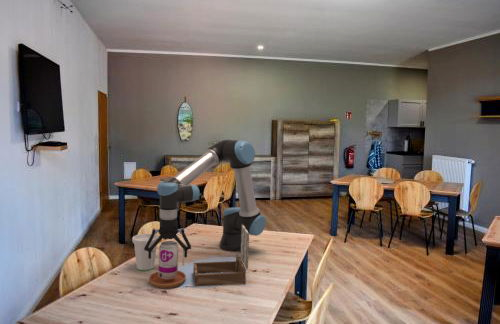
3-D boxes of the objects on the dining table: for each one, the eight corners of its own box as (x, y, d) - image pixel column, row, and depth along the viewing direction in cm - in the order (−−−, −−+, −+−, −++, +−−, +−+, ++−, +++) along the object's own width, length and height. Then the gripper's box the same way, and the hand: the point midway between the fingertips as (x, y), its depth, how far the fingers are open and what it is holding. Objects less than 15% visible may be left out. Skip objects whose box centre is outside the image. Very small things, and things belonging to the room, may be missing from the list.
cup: (163, 266, 186) (164, 236, 184) (147, 274, 174) (147, 242, 173) (144, 261, 191) (144, 232, 190) (126, 269, 180) (126, 238, 178)
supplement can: (172, 281, 162) (174, 247, 161) (155, 278, 164) (156, 245, 162) (179, 273, 170) (181, 241, 169) (162, 271, 172) (164, 239, 170)
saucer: (166, 294, 156) (167, 287, 156) (141, 284, 165) (141, 277, 165) (193, 281, 169) (193, 275, 169) (168, 273, 178) (168, 267, 178)
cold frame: (193, 272, 178) (194, 225, 176) (241, 270, 183) (243, 224, 181) (194, 286, 163) (195, 234, 161) (247, 283, 168) (249, 233, 166)
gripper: (138, 220, 159) (137, 269, 160) (197, 219, 163) (196, 266, 165) (139, 216, 166) (139, 262, 168) (196, 215, 171) (195, 260, 173)
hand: (167, 265), depth 167 cm, fingers open, 13 cm apart
